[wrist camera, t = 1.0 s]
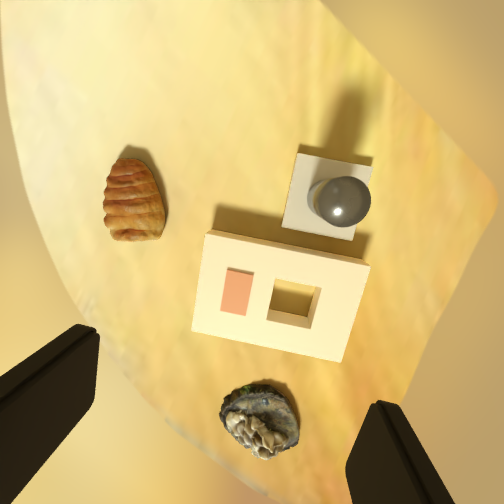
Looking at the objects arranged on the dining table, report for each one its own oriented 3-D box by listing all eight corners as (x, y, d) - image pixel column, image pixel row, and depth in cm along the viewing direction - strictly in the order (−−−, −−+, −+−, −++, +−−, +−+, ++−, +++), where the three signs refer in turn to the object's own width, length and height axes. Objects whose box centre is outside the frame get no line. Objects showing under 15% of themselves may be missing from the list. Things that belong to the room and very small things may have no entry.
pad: (296, 154, 29) (297, 152, 28) (370, 167, 28) (373, 167, 27) (281, 225, 31) (281, 227, 30) (349, 239, 30) (352, 241, 29)
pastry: (106, 160, 31) (83, 157, 27) (162, 158, 30) (147, 154, 27) (118, 239, 33) (99, 246, 29) (171, 238, 33) (157, 245, 29)
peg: (311, 176, 28) (325, 171, 20) (349, 183, 28) (377, 181, 20) (303, 212, 29) (313, 222, 21) (339, 219, 29) (362, 231, 21)
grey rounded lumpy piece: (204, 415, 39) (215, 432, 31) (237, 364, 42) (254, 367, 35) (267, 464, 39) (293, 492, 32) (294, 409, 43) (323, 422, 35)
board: (211, 229, 32) (204, 233, 28) (361, 259, 31) (372, 267, 28) (198, 318, 34) (190, 332, 31) (335, 347, 34) (341, 364, 31)
